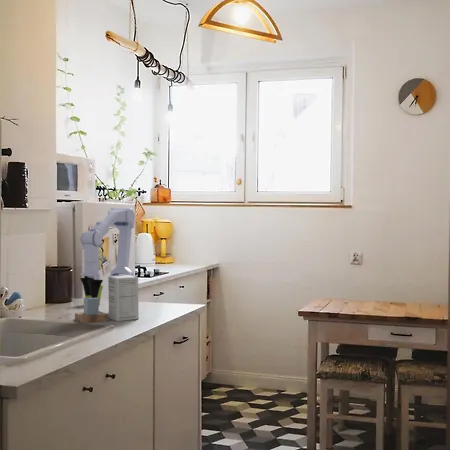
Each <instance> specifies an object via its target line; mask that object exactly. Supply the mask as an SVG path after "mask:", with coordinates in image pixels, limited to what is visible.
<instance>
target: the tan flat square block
mask: <svg viewBox="0 0 450 450" xmlns="http://www.w3.org/2000/svg"><path fill="white" fill-rule="evenodd" d="M74 320H75V321H77V322H79V323H81V322H82V323H81V324H89V323H101V322H108V321H109V313H105V312H102V311H100V310H99V314H94V315H86V314H84V311H83V312H74Z"/></svg>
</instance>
